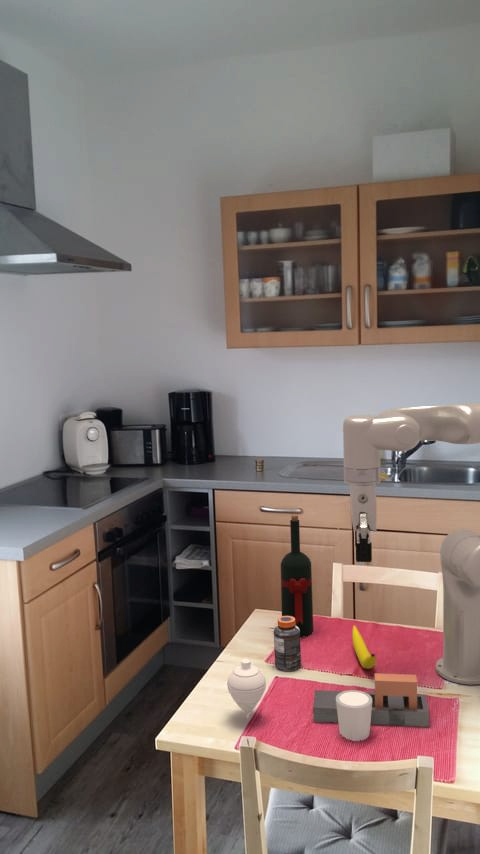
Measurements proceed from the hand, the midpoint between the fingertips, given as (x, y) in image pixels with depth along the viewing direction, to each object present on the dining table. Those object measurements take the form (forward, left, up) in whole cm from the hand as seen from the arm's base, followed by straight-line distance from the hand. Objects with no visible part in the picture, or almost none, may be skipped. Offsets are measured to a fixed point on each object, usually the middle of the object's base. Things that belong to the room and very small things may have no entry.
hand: (363, 554), depth 159 cm
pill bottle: (+17, -5, -28) cm, 34 cm away
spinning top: (+23, +18, -28) cm, 41 cm away
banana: (0, -8, -28) cm, 30 cm away
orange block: (-6, +15, -28) cm, 32 cm away
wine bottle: (+16, -23, -28) cm, 40 cm away
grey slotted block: (-1, +15, -28) cm, 32 cm away
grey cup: (+2, +21, -28) cm, 36 cm away
